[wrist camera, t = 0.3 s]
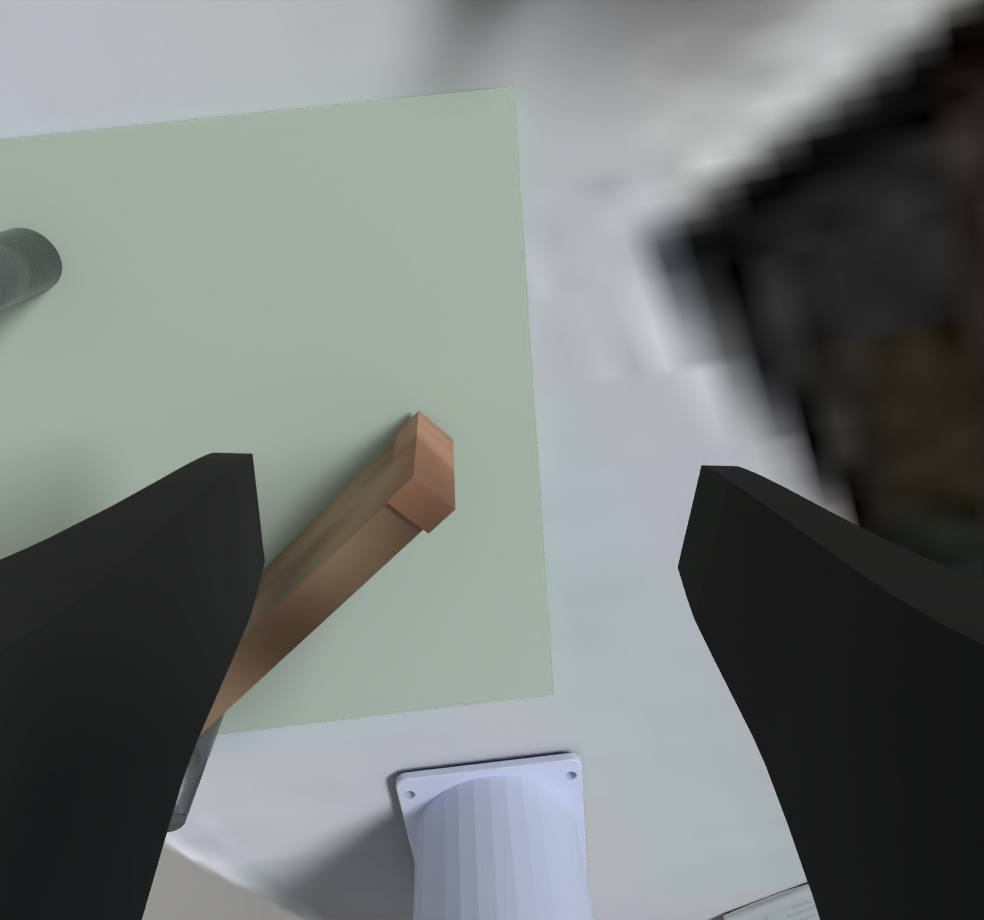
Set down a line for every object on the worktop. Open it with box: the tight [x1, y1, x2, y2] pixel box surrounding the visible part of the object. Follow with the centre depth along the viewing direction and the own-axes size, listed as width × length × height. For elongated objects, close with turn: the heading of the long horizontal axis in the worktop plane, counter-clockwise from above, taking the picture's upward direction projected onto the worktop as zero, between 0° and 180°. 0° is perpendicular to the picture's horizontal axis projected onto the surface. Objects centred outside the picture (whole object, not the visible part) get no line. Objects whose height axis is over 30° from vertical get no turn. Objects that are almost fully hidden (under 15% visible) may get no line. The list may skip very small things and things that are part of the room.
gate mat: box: [0, 86, 554, 734], centre depth 21 cm, size 21×18×1 cm
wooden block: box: [200, 411, 455, 735], centre depth 20 cm, size 14×1×4 cm, turn 135°
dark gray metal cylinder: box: [0, 228, 225, 832], centre depth 19 cm, size 18×2×6 cm, turn 5°
